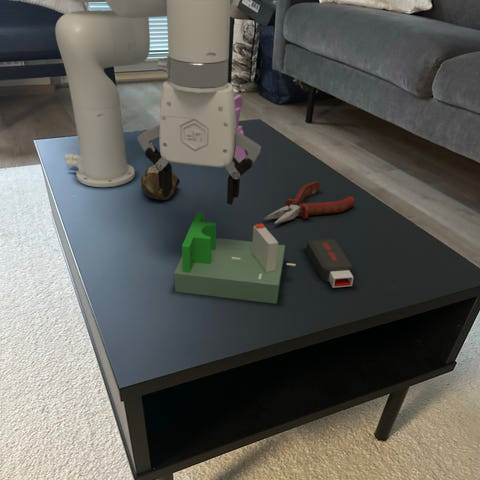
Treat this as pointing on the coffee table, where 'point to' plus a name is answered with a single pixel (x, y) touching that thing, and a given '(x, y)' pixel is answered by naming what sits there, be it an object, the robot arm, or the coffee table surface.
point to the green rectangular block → (232, 274)
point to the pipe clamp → (198, 243)
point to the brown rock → (156, 184)
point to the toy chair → (239, 128)
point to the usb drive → (330, 262)
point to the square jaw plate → (264, 247)
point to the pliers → (309, 206)
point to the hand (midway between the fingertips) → (199, 196)
